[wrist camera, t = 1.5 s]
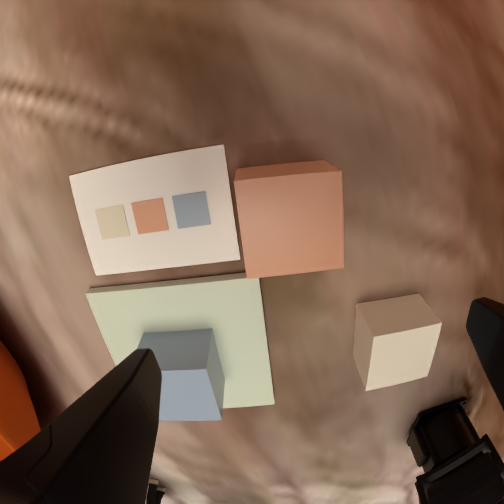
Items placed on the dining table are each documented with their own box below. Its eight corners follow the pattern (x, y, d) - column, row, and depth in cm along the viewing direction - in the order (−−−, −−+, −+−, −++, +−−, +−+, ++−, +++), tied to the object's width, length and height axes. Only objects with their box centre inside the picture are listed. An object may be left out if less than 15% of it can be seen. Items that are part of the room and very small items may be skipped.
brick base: (212, 328, 21) (206, 369, 18) (225, 379, 23) (222, 419, 20) (143, 332, 22) (127, 371, 18) (162, 382, 23) (152, 420, 20)
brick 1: (323, 159, 18) (341, 170, 14) (327, 239, 20) (343, 267, 16) (236, 168, 18) (233, 181, 14) (247, 248, 20) (246, 278, 16)
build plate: (258, 270, 21) (258, 276, 20) (274, 397, 25) (274, 404, 25) (90, 288, 21) (85, 293, 20) (139, 402, 26) (137, 408, 25)
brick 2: (417, 292, 22) (442, 322, 18) (408, 344, 24) (427, 376, 20) (356, 302, 22) (373, 336, 18) (351, 355, 24) (365, 391, 20)
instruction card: (223, 144, 17) (223, 144, 17) (240, 258, 20) (240, 260, 20) (70, 175, 18) (68, 176, 18) (97, 274, 21) (95, 276, 20)
